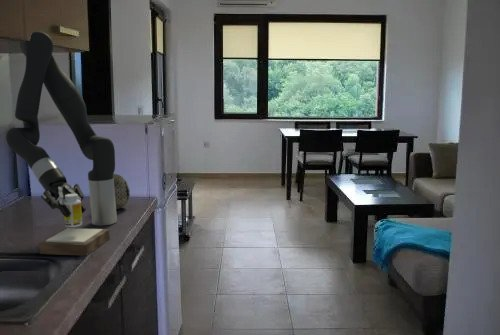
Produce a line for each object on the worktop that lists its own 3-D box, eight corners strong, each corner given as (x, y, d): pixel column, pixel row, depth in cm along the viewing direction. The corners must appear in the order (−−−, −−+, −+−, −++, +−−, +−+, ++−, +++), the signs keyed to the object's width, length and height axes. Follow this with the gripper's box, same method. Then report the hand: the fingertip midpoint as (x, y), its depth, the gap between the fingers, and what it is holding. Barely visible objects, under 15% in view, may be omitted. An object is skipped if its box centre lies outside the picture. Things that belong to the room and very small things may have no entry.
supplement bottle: (84, 222, 163) (82, 192, 161) (80, 227, 157) (78, 196, 155) (67, 223, 162) (64, 193, 160) (62, 228, 157) (60, 197, 155)
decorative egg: (96, 211, 204) (94, 176, 201) (112, 204, 215) (109, 171, 212) (121, 213, 201) (119, 177, 198) (135, 206, 212) (133, 172, 209)
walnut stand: (66, 237, 170) (65, 226, 169) (109, 239, 167) (108, 227, 167) (40, 253, 154) (38, 241, 154) (87, 255, 152) (86, 243, 151)
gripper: (34, 170, 154) (63, 211, 150) (71, 164, 166) (98, 201, 162) (25, 185, 157) (53, 226, 154) (61, 177, 170) (88, 215, 166)
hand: (76, 213), depth 158 cm, fingers closed on supplement bottle, 5 cm apart
